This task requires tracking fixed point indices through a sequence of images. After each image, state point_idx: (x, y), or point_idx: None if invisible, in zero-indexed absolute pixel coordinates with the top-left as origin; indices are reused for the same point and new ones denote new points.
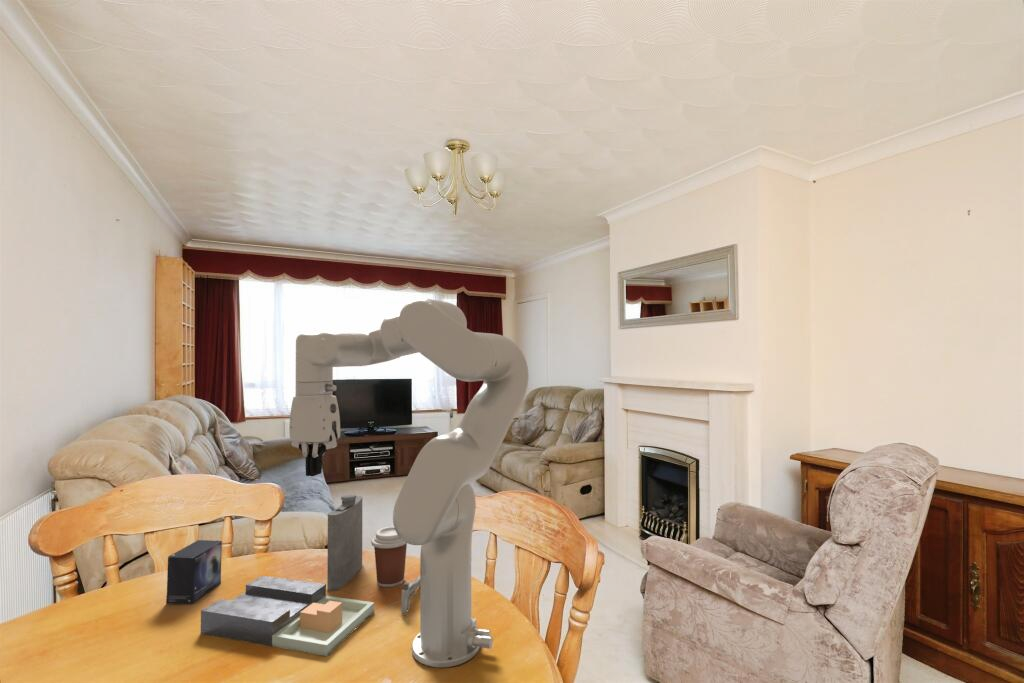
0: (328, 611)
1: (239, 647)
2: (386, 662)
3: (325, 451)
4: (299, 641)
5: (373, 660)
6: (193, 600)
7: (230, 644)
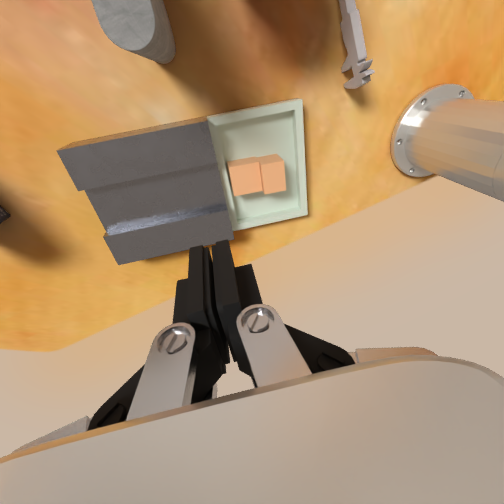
0: (282, 189)
1: None
2: (370, 188)
3: (308, 337)
4: (270, 222)
5: (355, 191)
6: (6, 215)
7: None
